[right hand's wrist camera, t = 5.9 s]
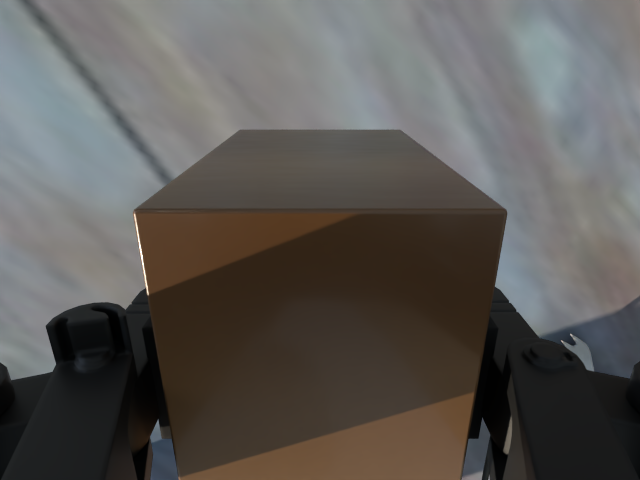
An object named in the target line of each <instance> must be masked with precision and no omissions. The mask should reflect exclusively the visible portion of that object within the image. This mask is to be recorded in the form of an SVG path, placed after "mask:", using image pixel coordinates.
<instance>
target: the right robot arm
mask: <svg viewBox="0 0 640 480" xmlns="http://www.w3.org/2000/svg"><path fill="white" fill-rule="evenodd" d="M46 329H47V333H48V336H49V340H50V343H51V347H52V351H53V354H54V358H55V361H56V366H55V368H54V370H53V372H50V373H46V374H41V375H36V376H31V377H26V378H21V379H16V380H11V379H10V376H9V373H8V370H7V367H6V366H4V365H3V364H1V363H0V480H150V476H151V467H152V459H153V451H152V445H151V440H150V435H151V433H152V431H153V429H154V427H155V425H156V422H157V420H158V419H159V425H160V430H161V436H162V439H172V437H171V431H170V425H169V419H168V413H167V408H166V402H165V396H164V390H163V384H162V379H161V373H160V367H159V361H158V355H157V349H156V344H155V338H154V332H153V326H152V320H151V315H150V309H149V303H148V297H147V291H146V288H145V289H144V290H142V291H140V293H139V294H138V295H137V296H136V298H135V299H134V300H133V301H132V305H129V306H128V308H127V309H126V310H125V309H124V308H122V307H121V306H120V305H118V304H113V303H108V302H105V303H91V304H86V305H81V306H78V307H75V308H72V309H70V310H67V311H64V312H63V313H61V314H59V315H58V316H56V317H54V318H53V319H52V320H51V321H50V322H49V323H48V324H47V325H46ZM482 417H483V420H484V422H485V424H486V426H487V428H488V430H489V432H490V440H489V445H488V450H487V455H486V460H485V465H484V470H483V476H482V480H488V477H489V475H490V480H640V362H638V363H637V364H636V365H634V368H633V371H632V374H631V377H630V379H629V378H624V377H619V376H613V375H608V374H603V373H598V372H594V371H590V370H587V369H586V367H585V365H584V363H583V362H582V361H581V359H580V358H579V357H578V356H577V355H576V354H575V353H573V352H572V351H570V350H569V349H568V348H566V347H564V346H562V345H559V344H557V343H555V342H552V341H548V340H544V339H540V338H539V337H538V336H537V335H536V334H535V332H534V331H533V330H532V329H531V327H530V326H529V325H528V324H527V322H526V321H525V320H524V319H523V318H522V316H521V315H520V314H519V313H518V312H516V309H515V308H514V307H513V305H512V304H511V303H509V300H508V299H507V298H506V297H505V295H504V294H503V293H502V292H501V291H500V290H499V289H498V288H496V287H494V293H493V299H492V305H491V311H490V316H489V322H488V328H487V334H486V340H485V345H484V351H483V357H482V363H481V369H480V374H479V380H478V386H477V392H476V398H475V403H474V409H473V415H472V421H471V427H470V432H469V438H468V439H478V437H479V432H480V427H481V421H482Z"/></svg>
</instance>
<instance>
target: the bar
mask: <svg viewBox="0 0 640 480" xmlns="http://www.w3.org/2000/svg"><path fill="white" fill-rule="evenodd" d="M133 216H134V222H135V228H136V233H137V239H138V245H139V251H140V257H141V262H142V268H143V274H144V280H145V286H146V291H147V297H148V303H149V309H150V315H151V320H152V326H153V332H154V338H155V344H156V349H157V355H158V361H159V367H160V373H161V379H162V384H163V390H164V396H165V402H166V408H167V413H168V419H169V425H170V431H171V437H172V442H173V448H174V454H175V460H176V466H177V471H178V477H179V480H461V479H462V473H463V467H464V461H465V456H466V450H467V444H468V438H469V432H470V427H471V421H472V415H473V409H474V403H475V398H476V392H477V386H478V380H479V374H480V369H481V363H482V357H483V351H484V345H485V340H486V334H487V328H488V322H489V316H490V311H491V305H492V299H493V293H494V287H495V282H496V276H497V270H498V264H499V259H500V253H501V247H502V241H503V235H504V230H505V224H506V218H507V211H506V209H505V208H503V207H502V206H501V205H499V204H498V203H497V202H495V201H494V200H493V199H491V198H490V197H489V196H487V195H486V194H485V193H483V192H482V191H481V190H479V189H478V188H477V187H475V186H474V185H473V184H472V183H470V182H469V181H468V180H466V179H465V178H464V177H462V176H461V175H460V174H458V173H457V172H456V171H454V170H453V169H452V168H450V167H449V166H448V165H446V164H445V163H444V162H442V161H441V160H440V159H438V158H437V157H436V156H434V155H433V154H432V153H430V152H429V151H428V150H426V149H425V148H424V147H423V146H421V145H420V144H419V143H417V142H416V141H415V140H413V139H412V138H411V137H409V136H408V135H407V134H405V133H404V132H403V131H401V130H239V131H238V132H236V133H235V134H234V135H232V136H231V137H230V138H228V139H227V140H226V141H224V142H223V143H222V144H221V145H219V146H218V147H217V148H215V149H214V150H213V151H211V152H210V153H209V154H207V155H206V156H205V157H203V158H202V159H201V160H199V161H198V162H197V163H195V164H194V165H193V166H191V167H190V168H189V169H187V170H186V171H185V172H183V173H182V174H181V175H179V176H178V177H177V178H175V179H174V180H173V181H171V182H170V183H169V184H167V185H166V186H165V187H163V188H162V189H161V190H159V191H158V192H157V193H156V194H154V195H153V196H152V197H150V198H149V199H148V200H146V201H145V202H144V203H142V204H141V205H140V206H138V207H137V208H136V209H134V212H133Z"/></svg>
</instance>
